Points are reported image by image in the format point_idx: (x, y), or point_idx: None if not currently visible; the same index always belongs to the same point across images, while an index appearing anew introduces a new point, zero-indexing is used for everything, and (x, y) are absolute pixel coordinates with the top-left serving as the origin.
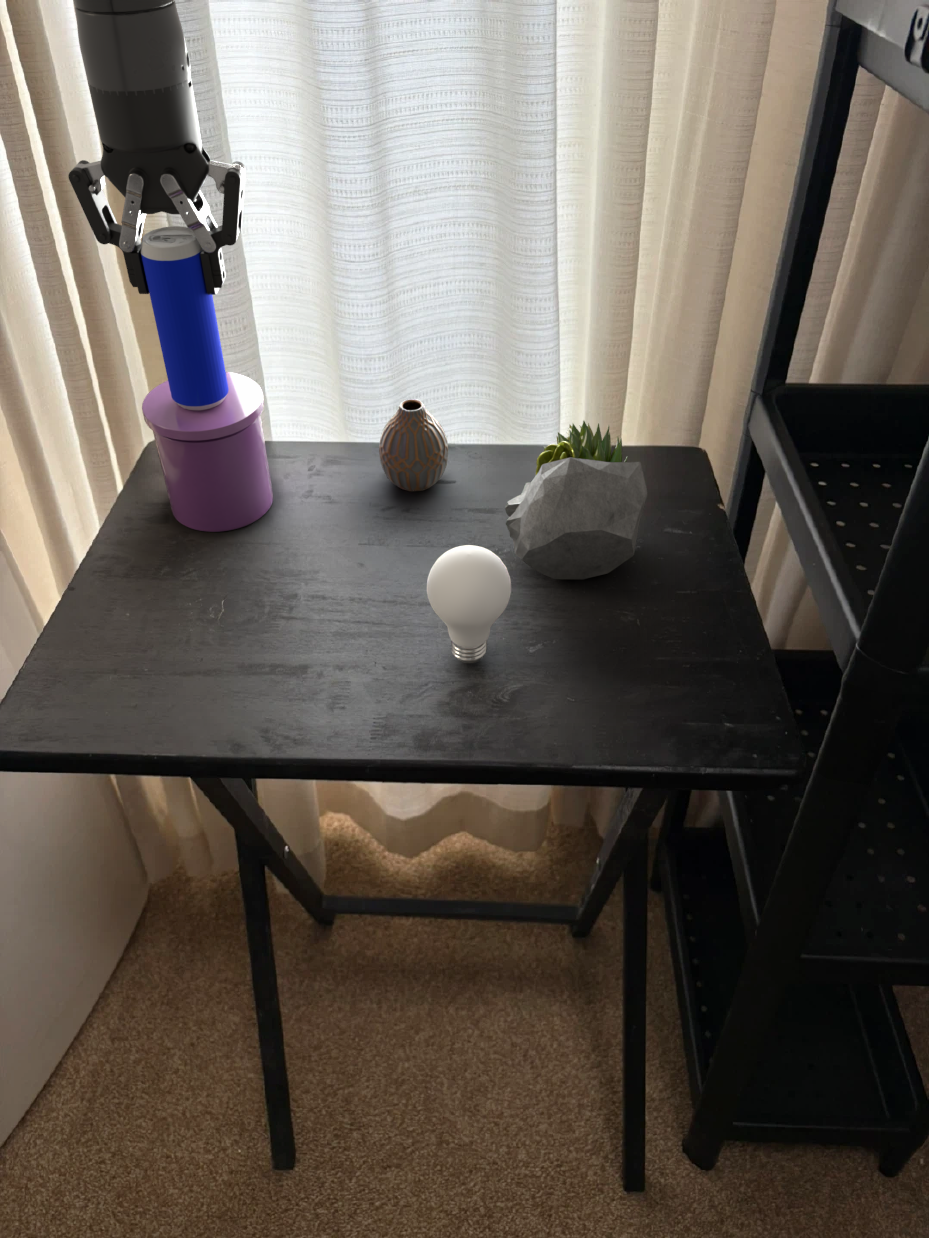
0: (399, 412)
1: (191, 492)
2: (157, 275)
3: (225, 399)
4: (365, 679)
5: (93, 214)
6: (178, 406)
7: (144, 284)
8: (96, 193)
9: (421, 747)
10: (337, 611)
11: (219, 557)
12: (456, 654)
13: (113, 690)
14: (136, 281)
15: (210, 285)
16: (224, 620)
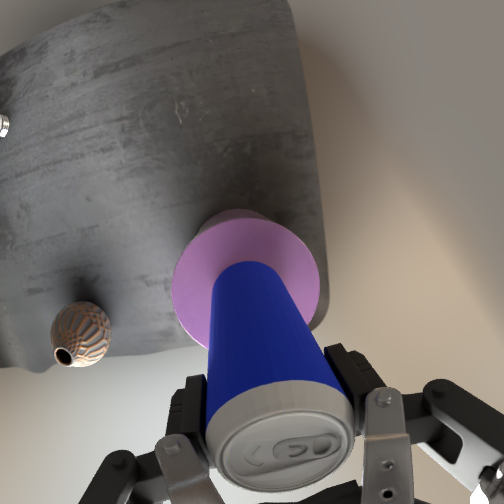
0: (70, 347)
1: (243, 213)
2: (291, 357)
3: None
4: (56, 81)
5: (479, 419)
6: None
7: (330, 355)
8: (483, 472)
9: (23, 49)
10: (88, 138)
11: (207, 176)
12: (5, 116)
13: (225, 20)
14: (348, 354)
15: (192, 385)
16: (170, 101)
